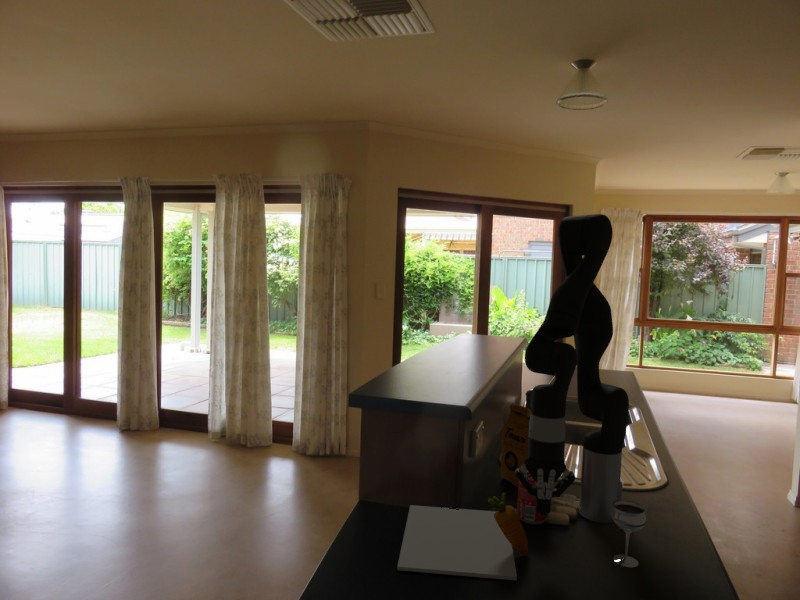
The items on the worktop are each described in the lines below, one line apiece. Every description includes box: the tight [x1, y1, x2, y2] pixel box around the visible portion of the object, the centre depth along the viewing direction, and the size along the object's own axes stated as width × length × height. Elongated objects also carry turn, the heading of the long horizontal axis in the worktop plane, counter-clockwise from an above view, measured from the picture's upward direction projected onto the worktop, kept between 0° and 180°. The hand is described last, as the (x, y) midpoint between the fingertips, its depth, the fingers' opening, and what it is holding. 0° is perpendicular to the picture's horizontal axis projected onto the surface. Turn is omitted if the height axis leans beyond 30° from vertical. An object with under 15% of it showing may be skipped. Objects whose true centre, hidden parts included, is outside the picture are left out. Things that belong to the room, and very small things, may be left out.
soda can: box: [516, 464, 548, 526], centre depth 139 cm, size 7×7×13 cm
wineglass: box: [612, 499, 647, 568], centre depth 122 cm, size 7×7×12 cm
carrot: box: [487, 492, 529, 555], centre depth 123 cm, size 5×5×15 cm
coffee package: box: [500, 403, 531, 488], centre depth 160 cm, size 10×12×22 cm
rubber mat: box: [396, 504, 518, 581], centre depth 129 cm, size 24×28×1 cm
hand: (542, 513), depth 122 cm, fingers closed
